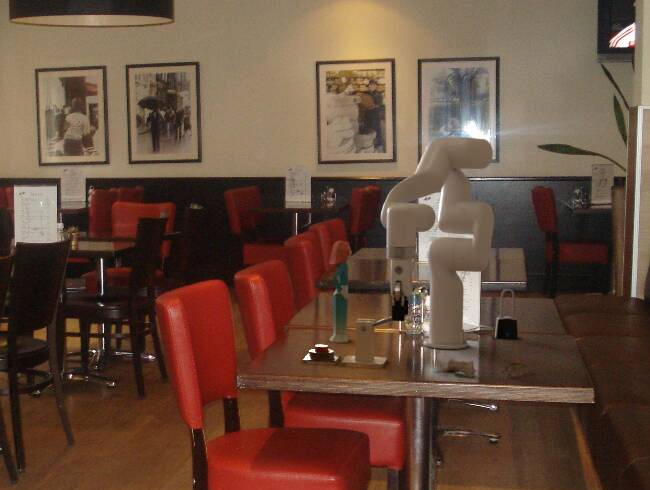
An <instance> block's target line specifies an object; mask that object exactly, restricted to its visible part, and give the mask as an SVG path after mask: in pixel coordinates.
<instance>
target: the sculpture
mask: <svg viewBox="0 0 650 490" xmlns="http://www.w3.org/2000/svg"><path fill="white" fill-rule="evenodd" d="M352 253H353V251H352V250H351V247H350V243H349V242H347V241H344V240H337V241H335V242H334V243H333V245H332V248H331V254H330V258H329V262H328V264H329V265H330V266H332V267H333V268H337V270H336V272H335V273H334V274H333V276H332V279H333V283H334V286H335V291H334V292H333V294H332V309H333V310H332V317H333V318H332V319H333V326H332V327H333V333H332V335H331V337H330V338H329V339H328V340H329V341H330V342H332V343H348V342H349V341H350V340H349V338H348V335H347V327H348V310H349V309H348V307H349V265H348V264H347V263H345V261H346V260H347V259H352Z"/></svg>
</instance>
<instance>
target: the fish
mask: <svg viewBox="0 0 650 490" xmlns="http://www.w3.org/2000/svg"><path fill="white" fill-rule="evenodd" d="M532 362H533V359H532V358H531V359H530V360H529V361H528V362H527V363H526V364H523V363H521V359H520V356H518V357H516V360H515V361H514V362H512V363H509V364H507V365H505V367H503V368H502V370H501V373H502V374H504V375H508V377H510V376H512V377H513V378H517V377H518V375H520V376H523V375H524V372H525V370H527V371H528V372H529V373H530V374H532V373H533V371H532V367H531V366H532Z"/></svg>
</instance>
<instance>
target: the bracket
mask: <svg viewBox="0 0 650 490" xmlns="http://www.w3.org/2000/svg"><path fill="white" fill-rule="evenodd" d="M375 320H376V319H374V318H357V320H356V321H355V326H354V328H355V329H354V330H355V332H354V333H355V334H354V337H355V338H354V355H345V357H344V358H343V359H342V360H341V364H351V365H368V366H369V365H370V366H385V364H386V363H387V362H386V361H388V357H382V356H380V357H379V356H375V327H376V326H374V327H373V322H376V321H375ZM368 321H369V322H368Z"/></svg>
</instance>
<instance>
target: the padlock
mask: <svg viewBox="0 0 650 490" xmlns="http://www.w3.org/2000/svg"><path fill="white" fill-rule="evenodd" d="M506 292H510V293H511V315H510V316H507V315H503V314H504V313H503V311H504V295H505V293H506ZM515 299H516V297H515V292H514V290H513V289H511V288H504V289H503V290H502V291H501V294H500V306H499V307H500V308H499V310H500V311H499V316H497V317H496V320H495V331H494V338H495V339H499V340H519V338H520V337H519V320H518V318H517V317H516V315H515V308H516V307H515V305H516V304H515V303H516V301H515Z"/></svg>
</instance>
